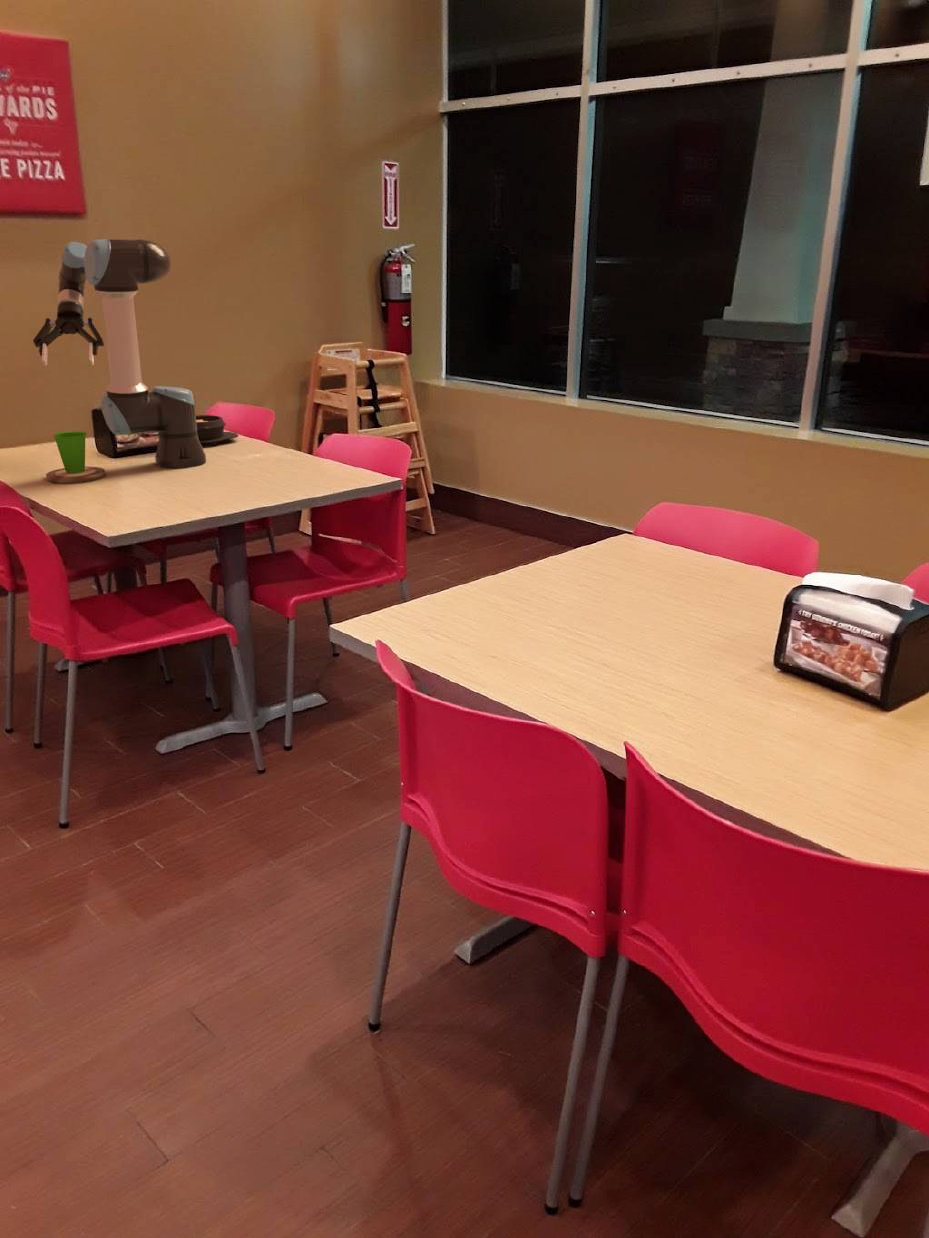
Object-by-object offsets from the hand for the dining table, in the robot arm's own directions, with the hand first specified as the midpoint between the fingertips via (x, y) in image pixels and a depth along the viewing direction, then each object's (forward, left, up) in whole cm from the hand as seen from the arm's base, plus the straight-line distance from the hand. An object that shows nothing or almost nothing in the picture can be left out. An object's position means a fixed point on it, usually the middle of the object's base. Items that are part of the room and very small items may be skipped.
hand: (67, 363), depth 287 cm
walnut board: (-16, +21, -30) cm, 40 cm away
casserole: (-20, -36, -30) cm, 51 cm away
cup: (-16, +21, -28) cm, 38 cm away
